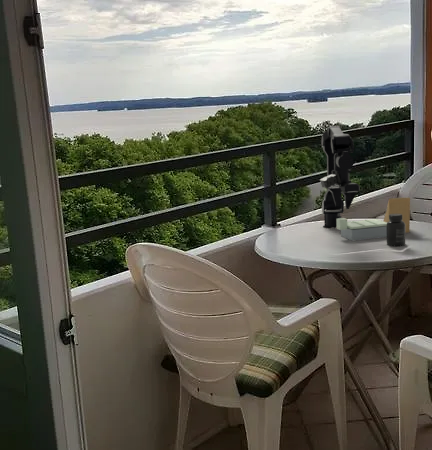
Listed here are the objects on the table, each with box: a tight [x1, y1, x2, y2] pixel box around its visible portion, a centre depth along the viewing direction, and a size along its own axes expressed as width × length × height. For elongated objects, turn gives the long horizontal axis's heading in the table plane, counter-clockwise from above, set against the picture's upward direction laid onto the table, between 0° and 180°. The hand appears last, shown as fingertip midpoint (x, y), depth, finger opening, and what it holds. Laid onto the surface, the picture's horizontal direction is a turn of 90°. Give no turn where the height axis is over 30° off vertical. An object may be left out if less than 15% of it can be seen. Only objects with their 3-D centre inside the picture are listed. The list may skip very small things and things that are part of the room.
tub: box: [340, 226, 387, 242], centre depth 256 cm, size 16×10×5 cm, turn 105°
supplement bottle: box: [386, 214, 406, 248], centre depth 239 cm, size 7×7×12 cm
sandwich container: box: [382, 197, 411, 234], centre depth 266 cm, size 9×15×15 cm, turn 178°
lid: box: [336, 217, 387, 231], centre depth 255 cm, size 19×10×4 cm, turn 105°
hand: (342, 207), depth 252 cm, fingers open, 9 cm apart
